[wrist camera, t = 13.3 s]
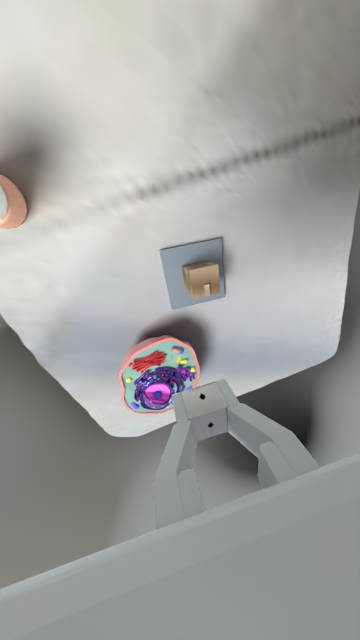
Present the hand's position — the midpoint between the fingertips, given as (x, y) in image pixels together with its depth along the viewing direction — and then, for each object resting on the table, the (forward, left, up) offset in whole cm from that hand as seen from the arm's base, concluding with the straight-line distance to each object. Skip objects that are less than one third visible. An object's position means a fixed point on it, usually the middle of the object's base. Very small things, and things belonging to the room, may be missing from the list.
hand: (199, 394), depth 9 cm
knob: (0, +8, -27) cm, 28 cm away
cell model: (+18, -4, -29) cm, 34 cm away
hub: (0, +8, -29) cm, 30 cm away
